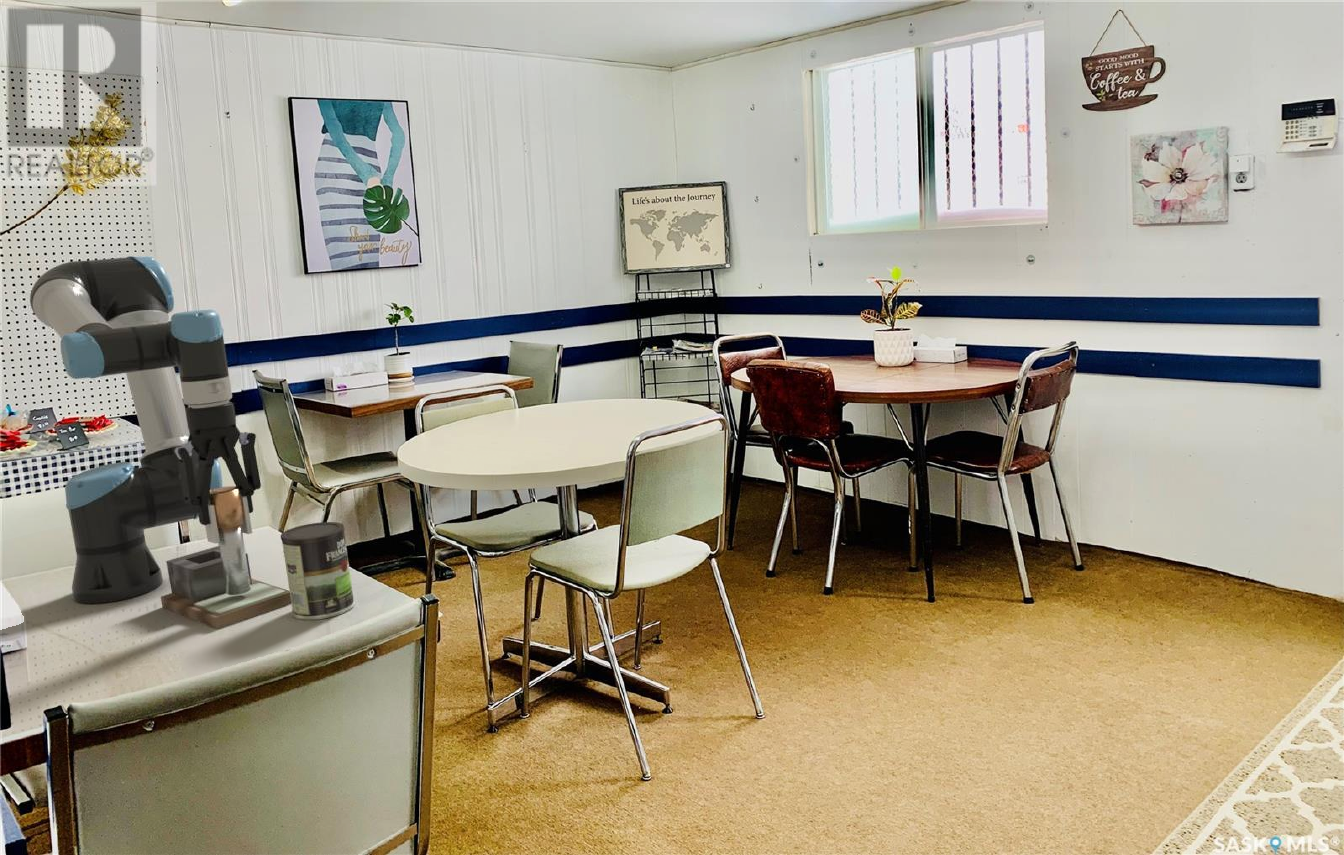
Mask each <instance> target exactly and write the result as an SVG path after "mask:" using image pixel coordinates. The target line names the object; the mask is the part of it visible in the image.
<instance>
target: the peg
mask: <svg viewBox="0 0 1344 855" xmlns="http://www.w3.org/2000/svg"><path fill="white" fill-rule="evenodd" d="M209 504H211V505H214V509H215V516H216V522H217V528H218V534H219V540H220V542H219V543H217V544H218V546H219V550H220V556H221V563H222V569H223V575H224V581H225V587H226V594H228V595H238V594H243V593H246V592H248V591H250V590H251V585H250V578H249V572H248V566H247V559H246V553H247V552H246V548H245V541H244V535H243V534H244V533H242V527H241V524H243V523H244V516H243V509H242V503H241V496H240V490H239V487H236V485H235V486H234V485H231V486H222V487H221V488H216V489H212V490H210V495H209Z"/></svg>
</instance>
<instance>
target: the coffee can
mask: <svg viewBox="0 0 1344 855" xmlns="http://www.w3.org/2000/svg"><path fill="white" fill-rule="evenodd" d="M345 530H346V529H345V525H344V524H343V523H340V522H334V521H333V522H332V521H325V522H314V523H308V524H302V525H298V526H295V527H291V528H290V529H287V530H285V531H284V532H283V531H282V533H281V534H280V540H281V543H282V549H283V558H284V562H285V568H286V575H287V582H288V588H289V589H288V591H290V597H291V608H292V616H293V618H295V619H298V620H303V621H311V620H313V621H314V620H315V621H316V620H323V619H328V618H329V619H330V618H333V617H337V616H340V615H342V614H344V613H347V612H349V611H350V610H352V608H353V607H355V599H354V594H353V587H352V585H353V584H352V579H351V572H350V571H351V570H350V564H349V557H348V550H347V549H348V548H347V542H346V533H345Z"/></svg>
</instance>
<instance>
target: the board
mask: <svg viewBox="0 0 1344 855" xmlns="http://www.w3.org/2000/svg"><path fill="white" fill-rule="evenodd" d="M245 553H246V559H247V566H248V572H249V578H250V585H251V590H250V591H248V592H246V593H243V594H238V595H228V594H226V587H225V581H224V575H223V569H222V563H221V556H220V550H219V545H217V546H214V547H210V548H206V549H203V550H200V551H197V552H193V553H189V554H186V555H183V556H180V557H175V558H172V559H169V560H166V561H165V562H166V567H167V574H168V579H169V584H170V585H169V586H170V592H171V593H168V594H165V595H162V596H160V601H161V607H162V608H164V609H165V610H169V611H171V612H174V613H176V614H179V615H182V616H183V617H186V618H189V619H191V620H194V621H195V622H199V623H202V624H203V625H206V626H209V627H211V628H213V629H216V630H218V629H221V628H225V627H228V626H231V625H232V624H236V623H238V622H242V621H243V620H247V619H251V618H253V617H257V616H258V615H262V614H264V613H268V612H270V611H273V610H276V609H279V608H281V607H284V606H287V605H292V603H291V597H290V590H289V589H284V588H282V587H279V586H276V585H274V584H273V585H272V584H270V583H266V582H263V581H261V580H257V579H255V578H254V579H253V578H252V575H251V567H250V561H249V556H248V555H249V554H248V553H247V552H245Z"/></svg>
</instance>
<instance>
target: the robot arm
mask: <svg viewBox="0 0 1344 855" xmlns="http://www.w3.org/2000/svg"><path fill="white" fill-rule="evenodd" d="M172 292H173V288H172V286H171V281H170V280H169V277H168V275H167V273H166V270H165V269H164V267H163V265H161V263H160V262H159V261H158V260H156V259H155V258H154V257H150V256H133V255H132V256H126V257H117V258H105V259H90V260H77V261H75V260H74V261H69V262H64V263H61V264H59V265H56V266H54V267H52V268H50V269H48V270H47V271H46V272H44V273H43V274H42V275H40V277H38V278H37V280H36V281H35V283H34V284H33V286H32V288H31V290H30V295H29V299H30V300H29V303H30V308H31V309H32V312H33V314H34V315H35V316H36V318H37V319H38V321H40V322H41V323H42V324H44V325H45V326H47V327H49V328H52V329H53V330H54V331H55V332H56V334H57V335H58V336H59V337H60V339H61V340H60V353H61V359H62V363H63V367H64V368H65V371H66V372H65V373H66V374H67V376H69V377H70V378H71V379H74V380H75V379H76V380H78V379H96V378H97V379H98V378H101V377H107V376H114V375H119V374H120V375H121V374H126V379H127V382H128V386H129V390H130V394H131V397H132V401H133V405H134V408H135V409H134V410H135V412H136V413H135V414H136V416H137V420H138V425H139V428H140V432H141V436H142V439H143V443H144V448H145V450H144V453H143V454H142V455H141V457H140V458H139V462H140V465H141V467H137V468H136V467H134V465H133V464H132V463H130V462H127V461H120V462H116V463H115V462H114V463H109V464H104V465H100V466H97V467H93V468H91V469H87V470H84V471H83V472H79V473H78V474H76V475H74V476H72V477H70V479H69V480H67V482H66V484H65V487H64V492H65V493H64V494H65V499H66V500H65V501H66V504H65V506H66V510H68V515H69V521H70V526H71V531H72V538H73V542H74V548H75V554H76V562H75V567H74V572H73V579H72V583H71V584H72V585H71V591H72V596H73V600H74V601H75V602H77V603H80V604H82V603H83V604H104V603H111V602H116V601H121V600H126V599H130V598H131V599H132V598H134V597H137V596H141V595H143V594H146V593H149V592H151V591H153V590H155V589H157V588H158V587H159V586H161V585H162V583H163V580H164V579H163V575H162V570H161V568H160V566H159V564H158V562H157V561H156V559H155V557H154V555H153V553H152V552H151V551H150V548H149V547H148V545H147V543H146V537H145V530H146V529H152V528H156V527H160V526H165V525H166V526H167V525H170V524H171V525H172V524H175V523H179V522H185V521H188V520H198V521H199V523H200V524H201V526H202V525H203V526H205V532H206V538H207V542H209V543H213V544H218V543H219V542H220V540H219V534H218V528H217V522H216V516H215V509H214V505H211V504H209V495H210V490H212V489H216V488H221V487H223V476H222V469H221V463H220V461H219V458H221V459H222V460H223V461H224V462H225V464H226V467H227V469H228V471H229V473H230V476H231V479H232V481H233V483H234V485H235V486H236V487H239V490H240V496H241V503H242V509H243V516H244V523H243V524H241V527H242V534H247V535H250V534H253V529H252V523H251V516H250V514H251V513H254V506H253V505H254V504H253V498H252V496H253V495H254V494H255V491H256V490H260V489H261V487H262V483H261V478H260V473H259V472H260V471H259V466H258V465H259V464H258V461H257V453H256V450H255V449H256V448H255V444H256V438H257V435H256V433H254V432H248V431H243V432H241V431H240V430H239V428H238V427H237V419H236V412H235V405H234V403H233V402H232V401H230V400H231V399H232V398H233V393H232V385H231V380H230V374H229V367H228V359H227V353H226V345H225V341H224V340H225V339H224V327H222V322H221V319H220V314H219V313H218V311H216V310H213V309H199V310H190V311H188V310H187V311H181V312H177V313H173V314H172V315H171V317H170V318H169V313H171V312H172V311H174V306H175V300H174V295H173V293H172ZM169 319H170V320H169ZM175 367H178V373H179V380H180V384H179V382H178V378H177V374H176V370H175ZM179 385H180V386H181V388H180V386H179ZM181 392H182V393H181ZM186 406H187V407H186ZM237 443H239V444H240V451H241V456H242V461H243V466H244V467H242V466H241V463H240V460H239V456H238V452H237V450H236V445H237ZM243 468H244V470H243Z"/></svg>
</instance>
